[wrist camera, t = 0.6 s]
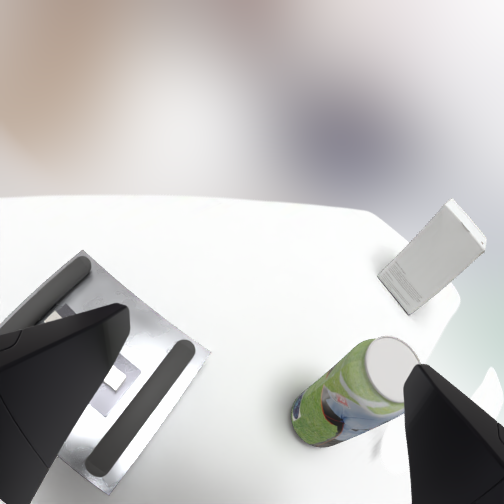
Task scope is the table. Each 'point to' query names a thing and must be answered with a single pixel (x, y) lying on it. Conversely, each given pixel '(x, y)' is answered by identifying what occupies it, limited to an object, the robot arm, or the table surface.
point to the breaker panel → (119, 369)
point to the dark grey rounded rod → (139, 409)
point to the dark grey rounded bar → (48, 295)
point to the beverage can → (355, 393)
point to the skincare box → (433, 257)
